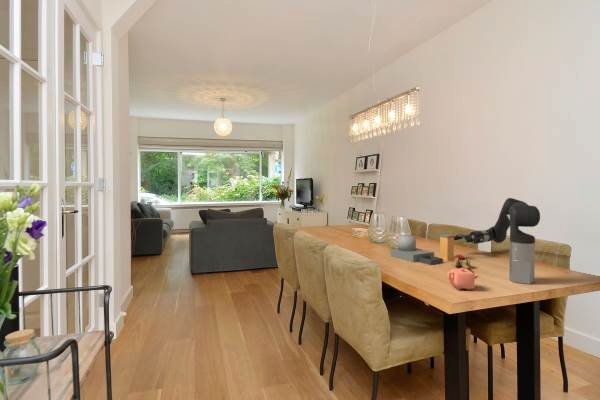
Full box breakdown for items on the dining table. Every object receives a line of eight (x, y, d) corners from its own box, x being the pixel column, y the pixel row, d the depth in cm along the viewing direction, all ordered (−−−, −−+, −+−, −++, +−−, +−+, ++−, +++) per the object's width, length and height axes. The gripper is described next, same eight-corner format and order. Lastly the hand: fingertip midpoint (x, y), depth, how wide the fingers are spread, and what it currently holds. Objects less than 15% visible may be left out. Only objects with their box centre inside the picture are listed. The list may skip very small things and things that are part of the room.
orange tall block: (446, 258, 193) (446, 234, 193) (454, 260, 188) (454, 235, 188) (439, 259, 191) (439, 234, 190) (447, 261, 186) (447, 236, 185)
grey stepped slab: (410, 253, 208) (410, 234, 207) (447, 262, 183) (447, 240, 183) (390, 256, 201) (390, 236, 200) (425, 265, 176) (426, 243, 176)
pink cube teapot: (482, 291, 134) (482, 271, 134) (451, 290, 135) (451, 270, 135) (474, 285, 142) (474, 266, 141) (445, 285, 143) (445, 265, 143)
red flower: (478, 276, 161) (466, 262, 178) (476, 263, 160) (464, 251, 177) (461, 278, 162) (450, 264, 180) (459, 266, 161) (449, 253, 179)
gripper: (468, 229, 208) (450, 231, 200) (490, 232, 195) (471, 234, 188) (468, 241, 208) (450, 243, 201) (490, 245, 195) (471, 248, 188)
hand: (460, 239), depth 194 cm, fingers open, 8 cm apart
